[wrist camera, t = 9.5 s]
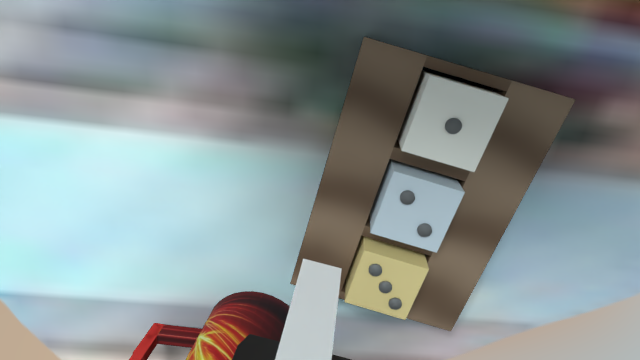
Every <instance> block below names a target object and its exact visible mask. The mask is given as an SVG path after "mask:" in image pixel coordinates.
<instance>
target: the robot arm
mask: <svg viewBox="0 0 640 360" xmlns="http://www.w3.org/2000/svg"><path fill="white" fill-rule="evenodd" d="M341 270H342V269H341V268H338V267H334V266H330V265H326V264H322V263H318V262H315V261H311V260H307V259H303V261H302V265H301V268H300V272H299V276H298V279H297V283H296V286H295V290H294V293H293V297H292V301H291V304H290V308H289V311H288V315H287V319H286V322H285V326H284V329H283V333H282V337H281V340H280V342H279V341H275V340H271V339H268V338H264V337H260V336H256V335H253V334H249V335H248V336H247V337H246V338H245V339H244V340H243V341H242V342H241V343H240V344H239V345H238V346H237V349H236V351H235V353H234V356H233V358H232V360H350V359H347V358H343V357H339V356H335V355H332V351H333V342H334V333H335V324H336V315H337V306H338V297H339V288H340V279H341Z"/></svg>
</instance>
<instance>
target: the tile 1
mask: <svg viewBox="0 0 640 360" xmlns="http://www.w3.org/2000/svg"><path fill="white" fill-rule="evenodd" d="M428 271H429V268H428V264H427V261H426V257H425V254H423V253H419V252H416V251H413V250H409V249H406V248H402V247H399V246H396V245H392V244H389V243H386V242H382V241H379V240H376V239H372V238H369V237H365V236H362V235H361V238H360V241H359V243H358V246H357V249H356V252H355V254H354V257H353V260H352V262H351V265H350V268H349V271H348V273H347V276H346V288H345V302H346V303H350V304H353V305H356V306H360V307H363V308H366V309H370V310H373V311H377V312H380V313H383V314H387V315H390V316H393V317H397V318H400V319H403V320H406V317H407V315H408V313H409V311H410V309H411V307H412V305H413V303H414V300H415V298H416V296H417V294H418V292H419V290H420V288H421V285H422V283H423V281H424V279H425V277H426V275H427V273H428Z"/></svg>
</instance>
